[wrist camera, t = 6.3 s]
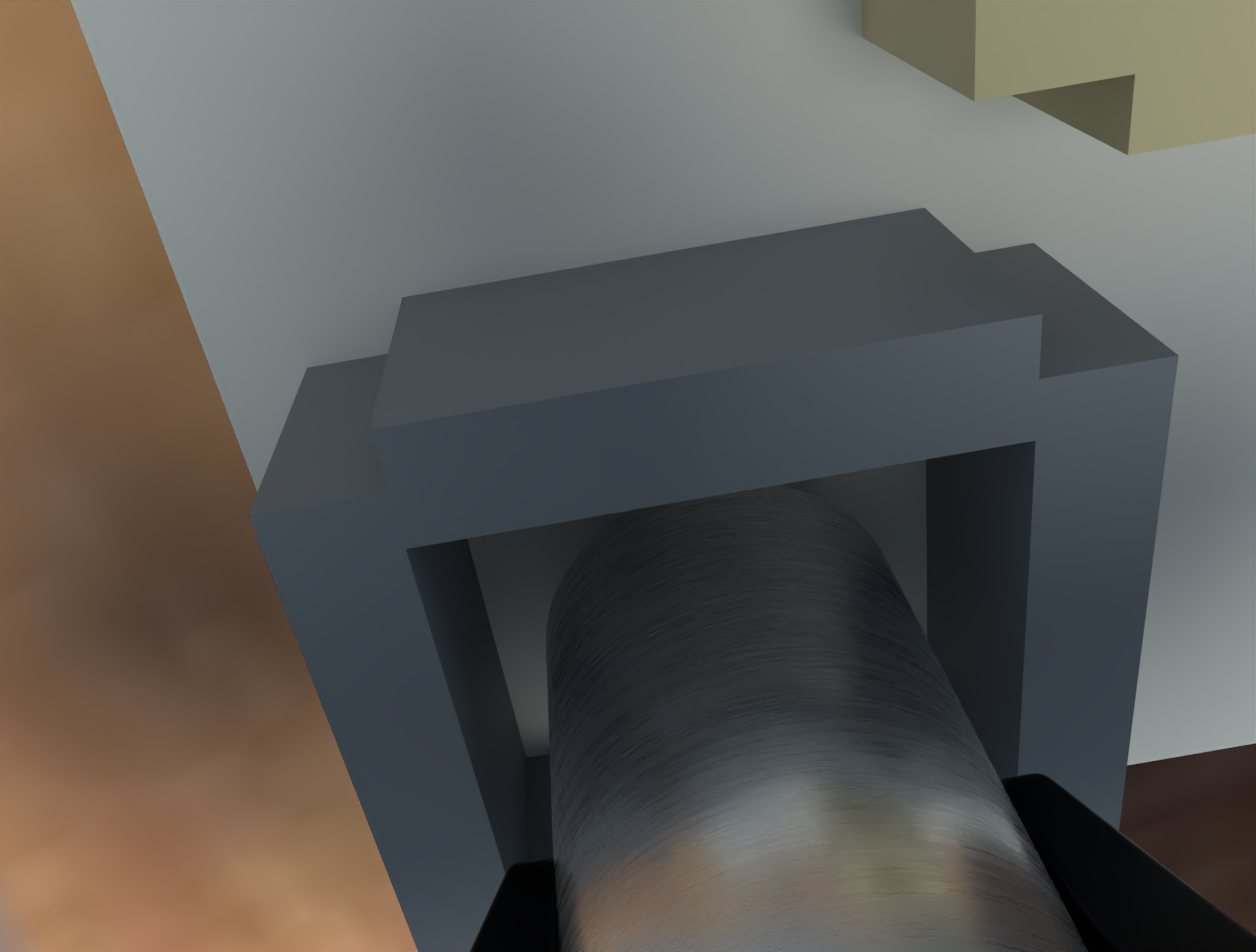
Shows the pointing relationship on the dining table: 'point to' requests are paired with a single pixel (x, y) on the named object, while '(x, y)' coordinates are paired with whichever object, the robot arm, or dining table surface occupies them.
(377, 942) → the dining table surface
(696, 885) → the metal cylinder
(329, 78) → the fitting plate
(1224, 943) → the robot arm
